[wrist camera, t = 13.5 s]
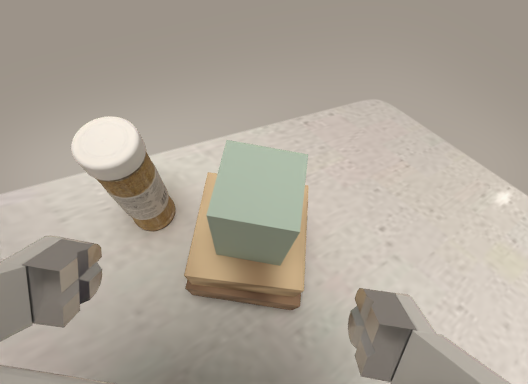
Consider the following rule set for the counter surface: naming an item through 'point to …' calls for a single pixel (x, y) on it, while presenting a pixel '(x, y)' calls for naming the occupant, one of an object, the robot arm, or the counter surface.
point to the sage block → (257, 202)
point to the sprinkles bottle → (124, 170)
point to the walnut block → (246, 296)
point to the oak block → (240, 270)
